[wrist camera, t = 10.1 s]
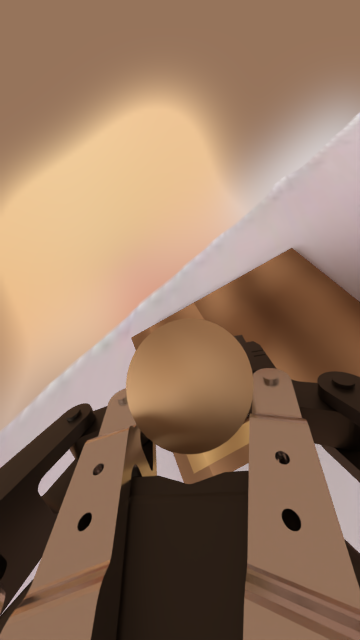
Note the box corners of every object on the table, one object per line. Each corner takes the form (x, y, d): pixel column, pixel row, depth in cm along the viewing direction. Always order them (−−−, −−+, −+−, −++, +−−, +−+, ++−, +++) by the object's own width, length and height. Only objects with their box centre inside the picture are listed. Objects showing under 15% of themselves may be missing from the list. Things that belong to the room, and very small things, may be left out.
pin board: (284, 266, 22) (292, 246, 20) (399, 368, 16) (435, 360, 13) (142, 345, 22) (130, 337, 20) (195, 480, 16) (188, 496, 13)
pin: (219, 358, 15) (208, 299, 7) (250, 408, 13) (286, 409, 5) (175, 382, 15) (113, 352, 7) (199, 436, 13) (151, 483, 5)
